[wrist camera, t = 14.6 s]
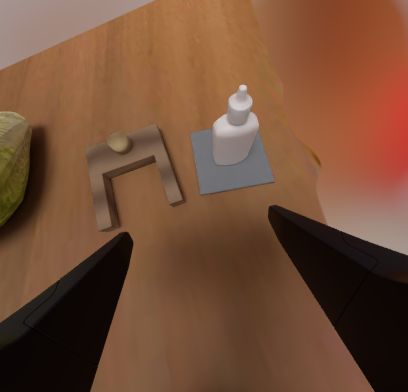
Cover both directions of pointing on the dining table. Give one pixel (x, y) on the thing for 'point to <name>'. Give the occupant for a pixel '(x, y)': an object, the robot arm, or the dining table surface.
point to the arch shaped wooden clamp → (127, 169)
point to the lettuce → (13, 161)
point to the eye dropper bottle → (235, 130)
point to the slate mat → (229, 166)
